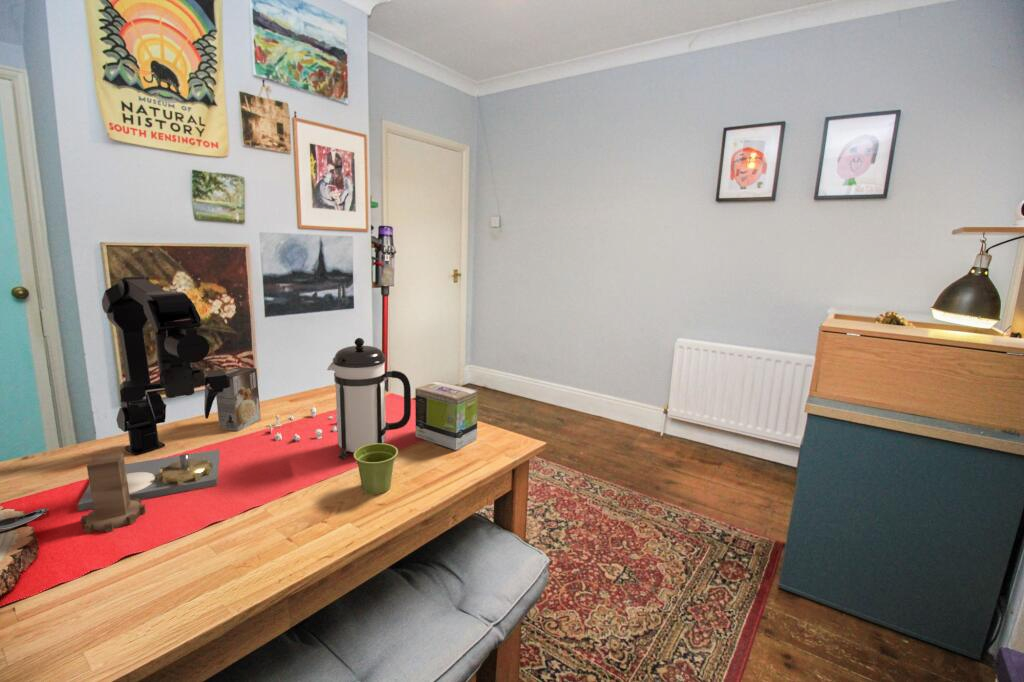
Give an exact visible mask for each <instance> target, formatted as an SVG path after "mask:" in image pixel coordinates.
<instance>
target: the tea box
mask: <svg viewBox="0 0 1024 682" xmlns="http://www.w3.org/2000/svg"><path fill="white" fill-rule="evenodd" d="M414 391H415V394H414V395H415V399H414V400H415V402H414V403H415V406H414V407H415V413H414V415H415V437H416V438H418V439H422V440H425V441H428V442H430V443H433V444H437V445H440V446H443V447H446V448H448V449H451V450H454V451H457V450H459V449H461V448H463V447H465V446H467V445H469V444H471V443H473V442H474V441H476V440H477V437H478V415H479V414H478V411H479V409H478V407H479V405H478V404H479V390H478V389H473V388H469V387H466V386H461V385H457V384H454V383H453V384H452V383H449V382H448V383H447V382H445V381H440V380H436V381H434V382H431V383H428V384H425V385H421V386H419V387H416V388H415V390H414Z"/></svg>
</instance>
